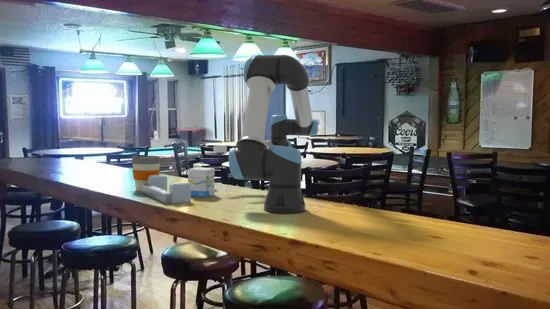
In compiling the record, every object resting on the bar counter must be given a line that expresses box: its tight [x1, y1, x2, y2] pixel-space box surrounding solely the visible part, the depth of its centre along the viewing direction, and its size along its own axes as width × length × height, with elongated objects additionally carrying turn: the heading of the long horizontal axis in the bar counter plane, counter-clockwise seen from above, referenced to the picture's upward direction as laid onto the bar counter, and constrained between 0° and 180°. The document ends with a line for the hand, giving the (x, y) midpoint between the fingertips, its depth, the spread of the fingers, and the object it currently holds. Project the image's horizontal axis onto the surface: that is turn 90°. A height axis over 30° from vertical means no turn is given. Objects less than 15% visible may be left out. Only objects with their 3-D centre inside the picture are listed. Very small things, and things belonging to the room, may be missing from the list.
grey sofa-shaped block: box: [148, 174, 192, 204], centre depth 210 cm, size 30×8×8 cm, turn 31°
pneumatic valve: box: [192, 161, 212, 168], centre depth 239 cm, size 6×12×12 cm, turn 37°
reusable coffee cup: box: [131, 155, 161, 192], centre depth 228 cm, size 13×13×15 cm
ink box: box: [187, 167, 215, 198], centre depth 216 cm, size 8×8×12 cm
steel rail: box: [141, 184, 173, 205], centre depth 207 cm, size 30×3×4 cm, turn 31°
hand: (221, 150), depth 220 cm, fingers open, 13 cm apart
